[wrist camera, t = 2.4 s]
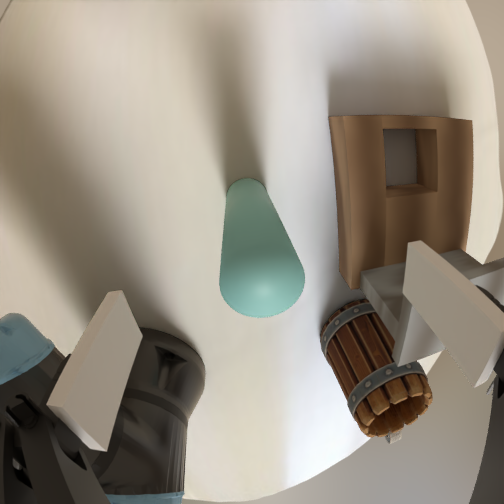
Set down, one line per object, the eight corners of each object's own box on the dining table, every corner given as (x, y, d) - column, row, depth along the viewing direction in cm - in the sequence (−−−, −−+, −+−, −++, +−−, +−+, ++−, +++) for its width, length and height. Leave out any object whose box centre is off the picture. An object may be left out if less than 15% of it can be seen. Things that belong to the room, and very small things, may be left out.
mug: (310, 314, 34) (346, 414, 21) (387, 284, 33) (450, 366, 20) (331, 384, 41) (357, 464, 27) (392, 359, 40) (430, 431, 26)
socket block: (339, 271, 32) (397, 366, 18) (328, 116, 25) (421, 116, 11) (445, 248, 32) (521, 311, 18) (450, 118, 25) (552, 136, 11)
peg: (230, 220, 29) (228, 323, 14) (223, 182, 27) (210, 252, 13) (270, 214, 29) (307, 309, 14) (264, 174, 27) (301, 236, 13)
